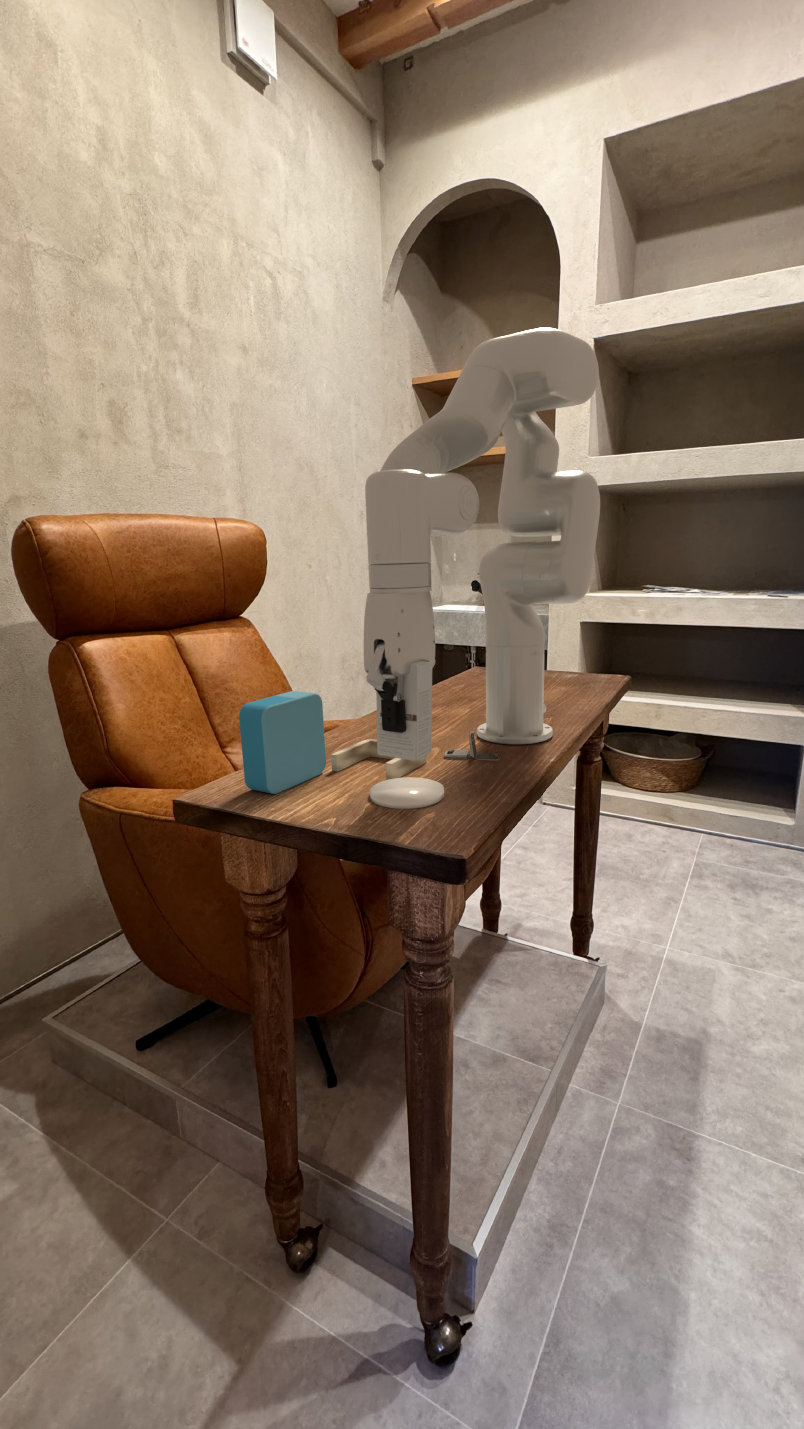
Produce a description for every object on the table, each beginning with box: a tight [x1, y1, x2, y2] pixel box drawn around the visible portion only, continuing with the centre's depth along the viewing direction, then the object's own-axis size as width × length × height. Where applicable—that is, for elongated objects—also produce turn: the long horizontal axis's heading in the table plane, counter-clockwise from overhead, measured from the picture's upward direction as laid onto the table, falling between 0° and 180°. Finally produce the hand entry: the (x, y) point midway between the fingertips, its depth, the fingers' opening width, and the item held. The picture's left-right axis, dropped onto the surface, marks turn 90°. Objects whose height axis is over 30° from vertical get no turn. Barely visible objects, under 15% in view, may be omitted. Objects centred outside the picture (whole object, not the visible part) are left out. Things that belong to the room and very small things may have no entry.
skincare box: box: [375, 660, 433, 760], centre depth 84 cm, size 6×4×12 cm
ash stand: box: [330, 738, 428, 780], centre depth 99 cm, size 10×10×2 cm
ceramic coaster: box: [369, 776, 445, 810], centre depth 87 cm, size 10×10×1 cm
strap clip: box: [443, 730, 501, 761], centre depth 102 cm, size 8×3×4 cm, turn 78°
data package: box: [238, 690, 327, 795], centre depth 92 cm, size 12×4×12 cm, turn 147°
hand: (405, 725), depth 85 cm, fingers closed on skincare box, 4 cm apart
